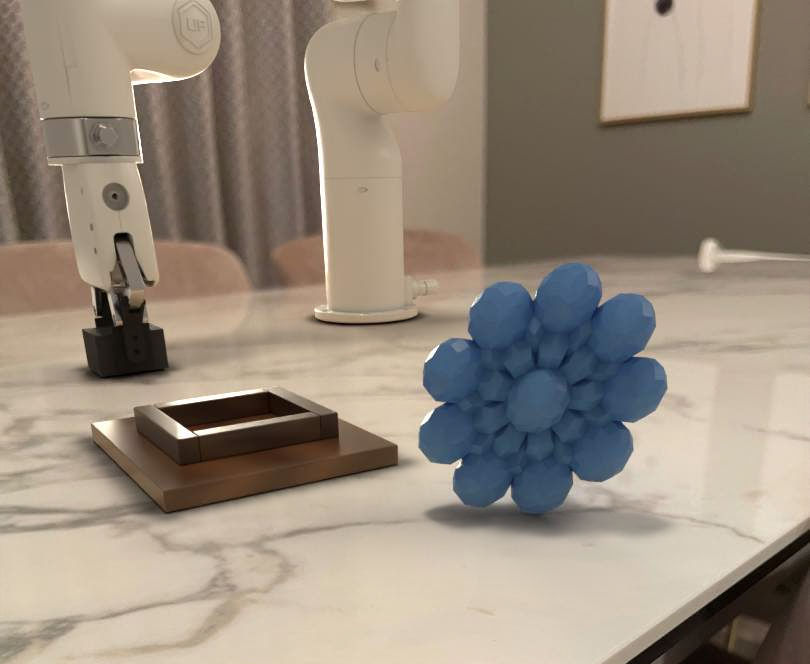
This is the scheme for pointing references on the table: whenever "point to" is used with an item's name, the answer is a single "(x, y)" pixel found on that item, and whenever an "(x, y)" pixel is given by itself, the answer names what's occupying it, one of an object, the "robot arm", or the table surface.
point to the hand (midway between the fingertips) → (127, 362)
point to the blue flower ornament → (541, 390)
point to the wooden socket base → (236, 446)
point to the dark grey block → (104, 355)
